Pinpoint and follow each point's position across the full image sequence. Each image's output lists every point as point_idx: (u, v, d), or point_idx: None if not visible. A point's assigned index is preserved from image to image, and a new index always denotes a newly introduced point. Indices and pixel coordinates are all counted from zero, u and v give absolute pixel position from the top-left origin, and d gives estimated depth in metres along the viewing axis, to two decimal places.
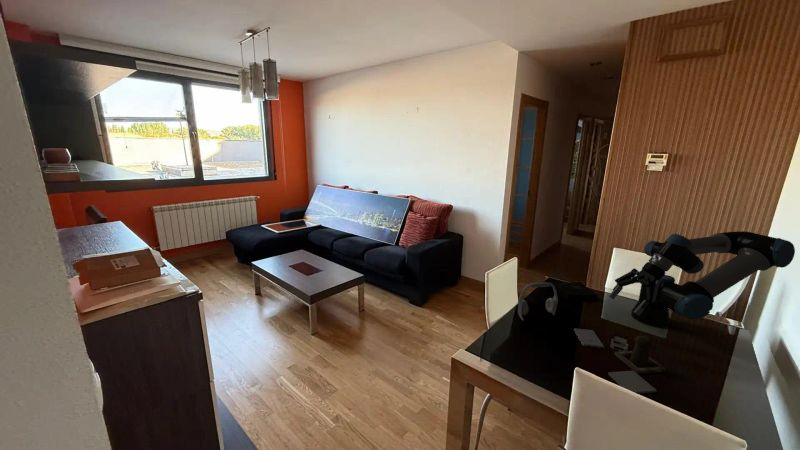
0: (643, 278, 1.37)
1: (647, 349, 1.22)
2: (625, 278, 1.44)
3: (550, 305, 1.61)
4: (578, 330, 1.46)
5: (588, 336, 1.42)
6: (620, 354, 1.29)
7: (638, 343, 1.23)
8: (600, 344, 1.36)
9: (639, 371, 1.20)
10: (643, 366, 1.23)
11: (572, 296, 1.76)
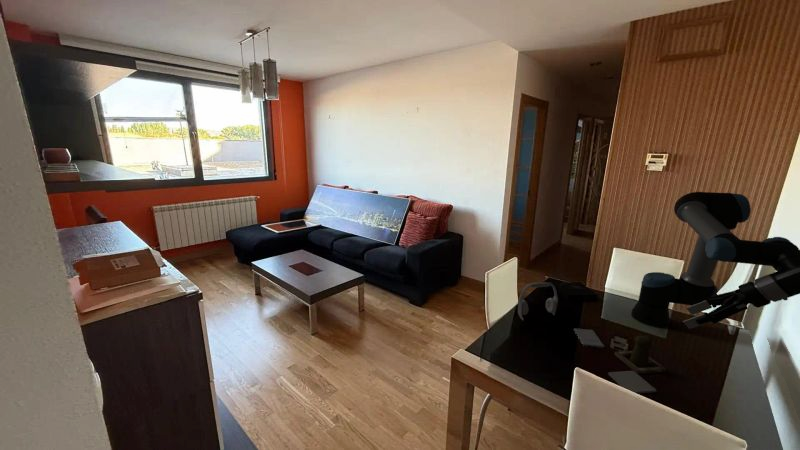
0: None
1: (647, 349, 1.22)
2: None
3: (550, 305, 1.61)
4: (578, 330, 1.46)
5: (588, 336, 1.42)
6: (620, 354, 1.29)
7: (638, 343, 1.23)
8: (600, 344, 1.36)
9: (639, 371, 1.20)
10: (643, 366, 1.23)
11: (572, 296, 1.76)
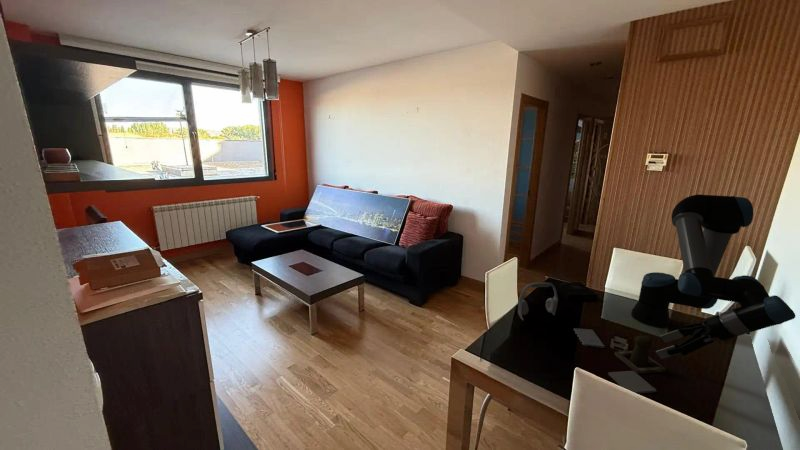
0: None
1: (647, 349, 1.22)
2: None
3: (550, 305, 1.61)
4: (578, 330, 1.46)
5: (588, 336, 1.42)
6: (620, 354, 1.29)
7: (638, 343, 1.23)
8: (600, 344, 1.36)
9: (639, 371, 1.20)
10: (643, 366, 1.23)
11: (572, 296, 1.76)
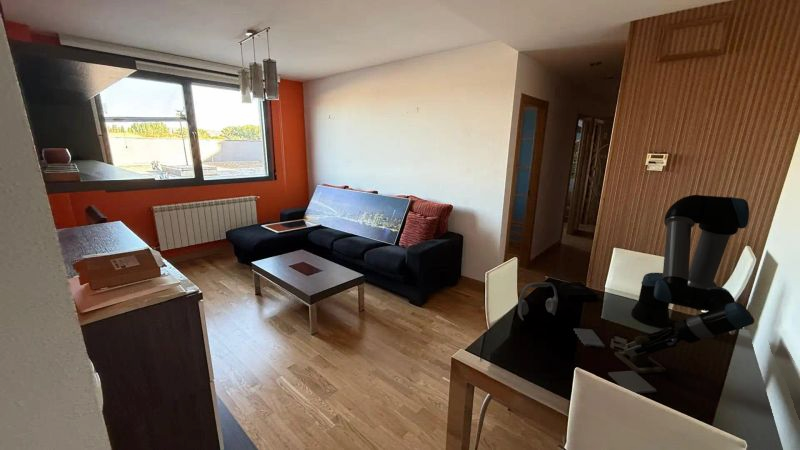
0: None
1: None
2: None
3: (550, 305, 1.61)
4: (578, 330, 1.46)
5: (589, 335, 1.42)
6: (620, 354, 1.29)
7: (638, 343, 1.23)
8: (601, 343, 1.36)
9: (639, 371, 1.20)
10: (643, 366, 1.23)
11: (572, 296, 1.76)
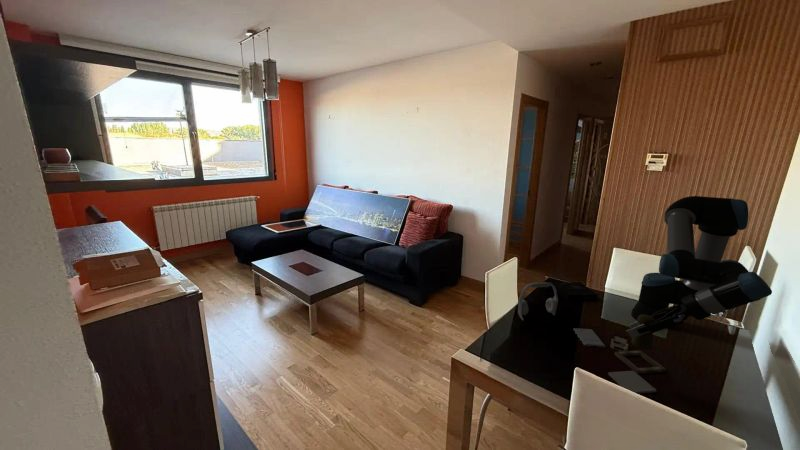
0: None
1: None
2: None
3: (550, 305, 1.61)
4: (578, 330, 1.46)
5: (589, 335, 1.42)
6: (620, 354, 1.29)
7: (641, 322, 1.12)
8: (601, 343, 1.36)
9: (639, 371, 1.20)
10: (646, 348, 1.12)
11: (572, 296, 1.76)
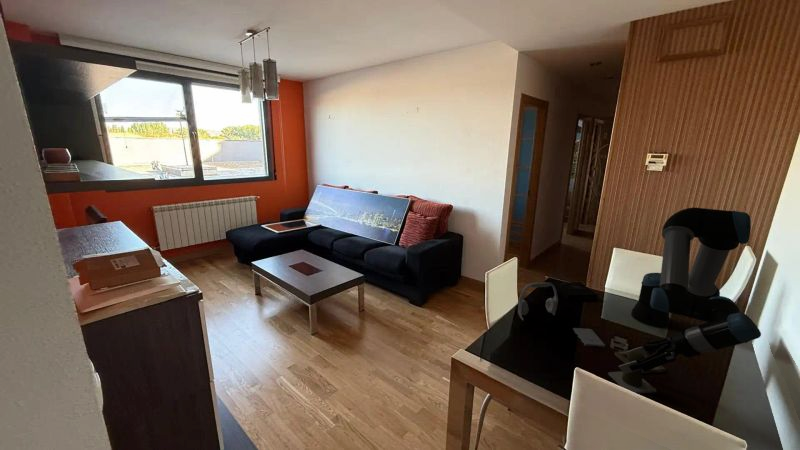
0: None
1: None
2: None
3: (550, 305, 1.61)
4: (578, 330, 1.46)
5: (589, 335, 1.42)
6: (620, 354, 1.29)
7: (630, 360, 1.12)
8: (601, 343, 1.37)
9: None
10: (636, 385, 1.12)
11: (572, 296, 1.76)
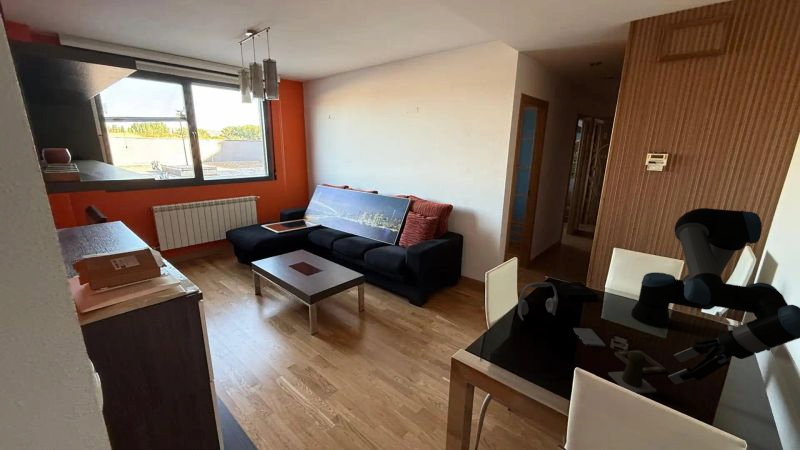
0: None
1: (641, 367, 1.11)
2: None
3: (550, 305, 1.61)
4: (577, 329, 1.47)
5: (589, 335, 1.42)
6: (620, 354, 1.29)
7: (631, 360, 1.12)
8: (601, 343, 1.37)
9: None
10: (636, 385, 1.12)
11: (572, 296, 1.76)
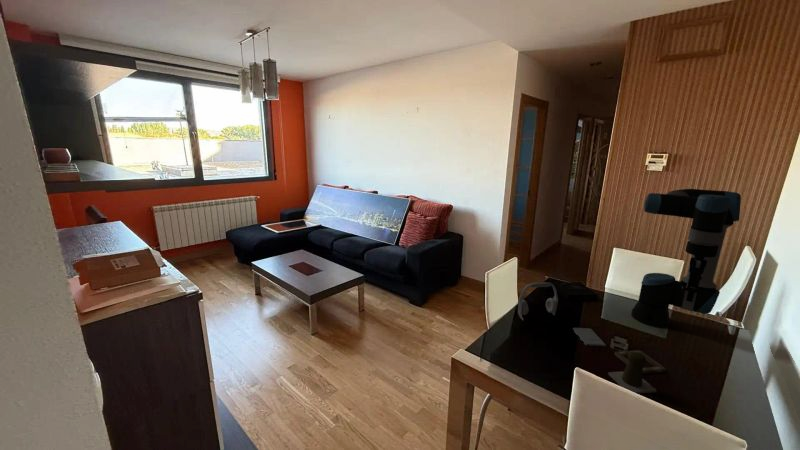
0: None
1: (641, 367, 1.11)
2: None
3: (550, 305, 1.61)
4: (577, 329, 1.47)
5: (589, 335, 1.43)
6: (620, 354, 1.29)
7: (631, 360, 1.12)
8: (602, 343, 1.37)
9: None
10: (636, 385, 1.12)
11: (572, 296, 1.76)
